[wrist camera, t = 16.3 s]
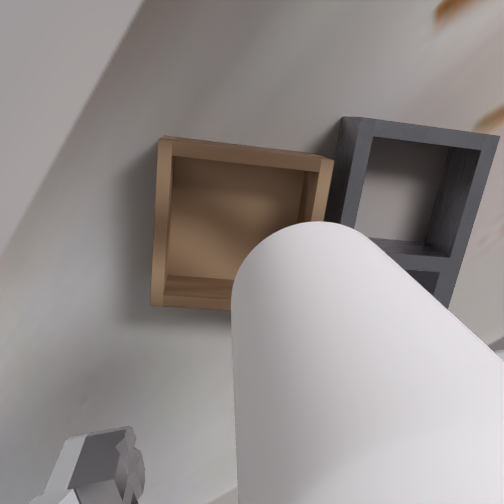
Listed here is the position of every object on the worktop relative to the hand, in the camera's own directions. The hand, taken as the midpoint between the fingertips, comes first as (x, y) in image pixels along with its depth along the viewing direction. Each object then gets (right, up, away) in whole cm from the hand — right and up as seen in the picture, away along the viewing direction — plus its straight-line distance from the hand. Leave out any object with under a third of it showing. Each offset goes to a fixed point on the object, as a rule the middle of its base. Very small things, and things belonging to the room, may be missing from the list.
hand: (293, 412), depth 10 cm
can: (+1, +2, +6) cm, 7 cm away
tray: (+9, +5, +21) cm, 23 cm away
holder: (-2, +6, +19) cm, 20 cm away
